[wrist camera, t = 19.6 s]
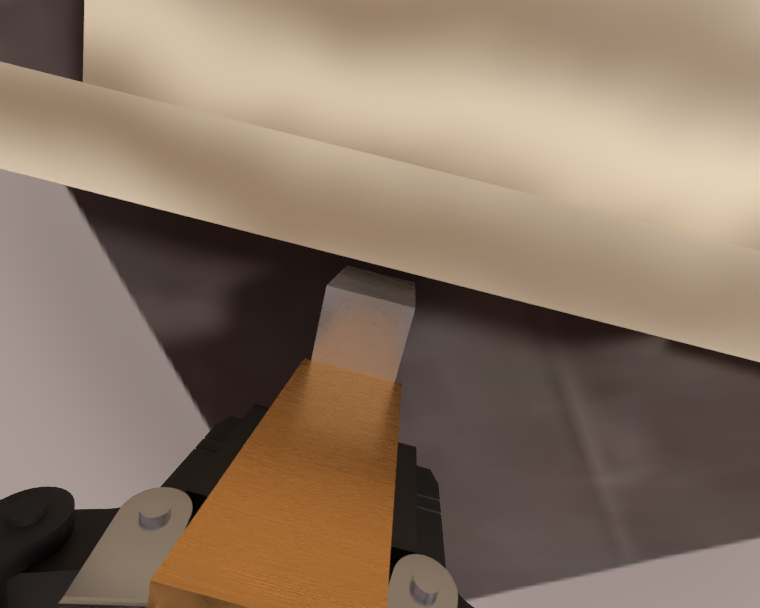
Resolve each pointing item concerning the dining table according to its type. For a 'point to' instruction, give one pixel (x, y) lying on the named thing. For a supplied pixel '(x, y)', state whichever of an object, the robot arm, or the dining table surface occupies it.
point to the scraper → (309, 473)
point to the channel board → (437, 141)
